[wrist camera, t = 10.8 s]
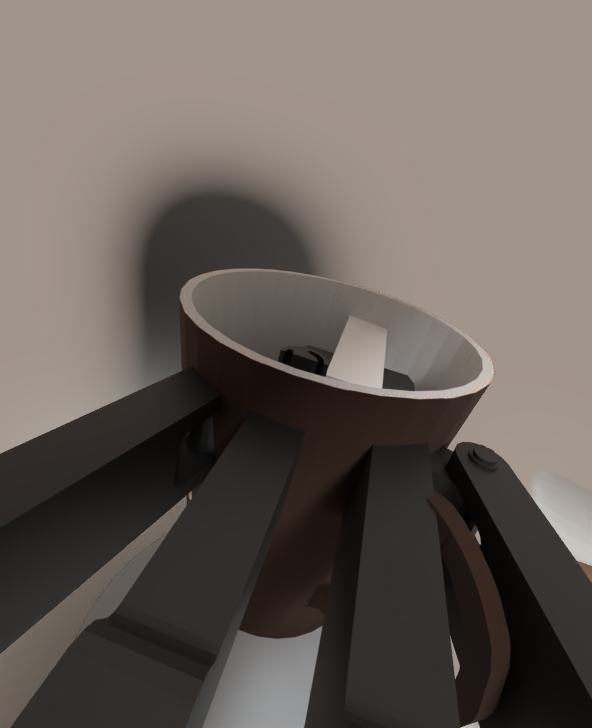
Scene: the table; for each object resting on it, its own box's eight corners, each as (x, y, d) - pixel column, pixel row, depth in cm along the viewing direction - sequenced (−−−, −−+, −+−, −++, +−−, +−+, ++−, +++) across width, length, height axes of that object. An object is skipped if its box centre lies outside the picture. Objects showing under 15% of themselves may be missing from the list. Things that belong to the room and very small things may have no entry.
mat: (521, 777, 16) (530, 769, 16) (75, 1319, 7) (73, 1327, 7) (312, 494, 28) (315, 486, 27) (41, 576, 19) (40, 565, 18)
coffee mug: (206, 455, 20) (235, 254, 15) (375, 502, 19) (454, 309, 15) (28, 766, 9) (-42, 406, 5) (393, 884, 9) (678, 607, 4)
